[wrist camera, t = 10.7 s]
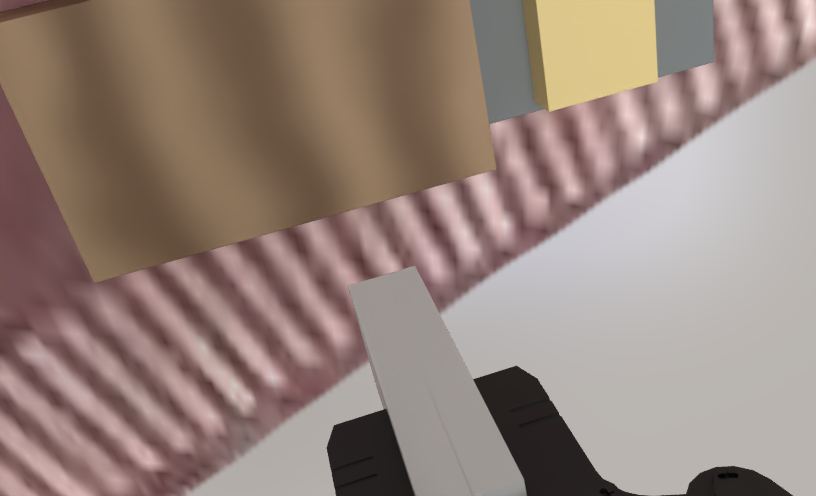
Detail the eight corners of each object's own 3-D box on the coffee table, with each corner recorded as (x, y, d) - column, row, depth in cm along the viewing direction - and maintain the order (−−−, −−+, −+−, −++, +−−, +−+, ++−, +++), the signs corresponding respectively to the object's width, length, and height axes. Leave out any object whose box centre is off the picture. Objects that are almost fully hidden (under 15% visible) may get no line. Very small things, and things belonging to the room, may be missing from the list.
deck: (105, 246, 39) (94, 283, 36) (-1, 12, 34) (-26, 29, 30) (472, 143, 41) (496, 169, 38) (431, -94, 36) (455, -90, 32)
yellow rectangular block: (549, 111, 39) (534, 101, 41) (657, 81, 39) (639, 72, 41) (527, -76, 35) (512, -79, 36) (649, -107, 35) (629, -108, 37)
